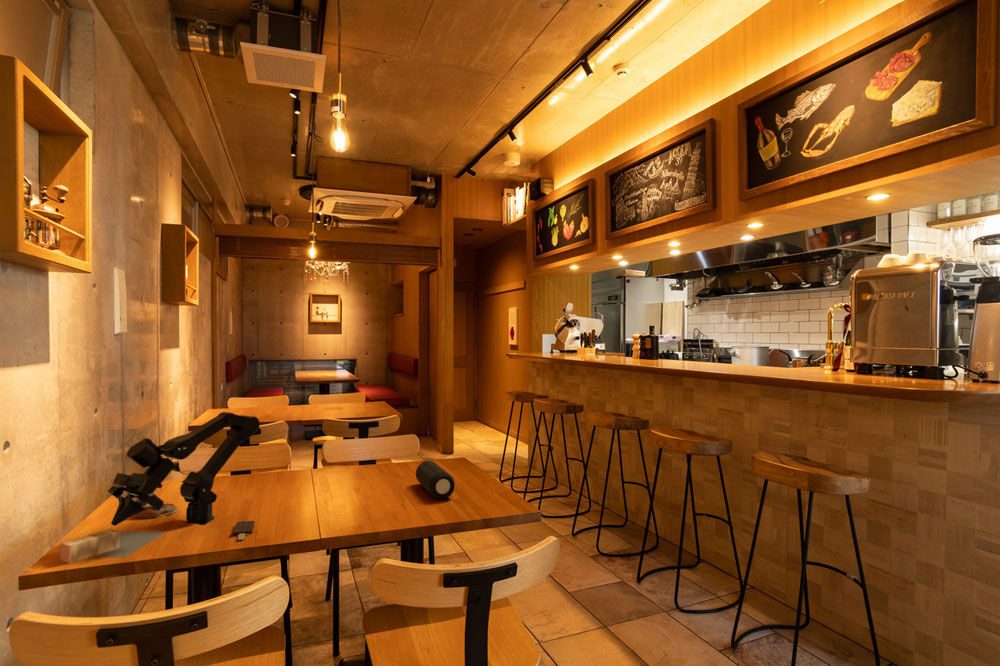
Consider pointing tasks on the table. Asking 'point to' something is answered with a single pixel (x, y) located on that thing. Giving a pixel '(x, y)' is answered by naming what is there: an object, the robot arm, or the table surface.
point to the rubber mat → (130, 544)
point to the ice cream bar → (243, 529)
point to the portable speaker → (435, 479)
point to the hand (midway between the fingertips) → (112, 524)
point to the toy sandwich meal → (164, 511)
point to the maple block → (89, 545)
